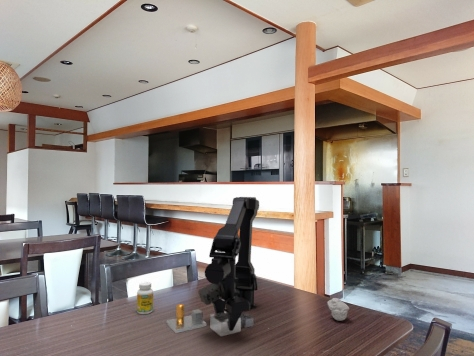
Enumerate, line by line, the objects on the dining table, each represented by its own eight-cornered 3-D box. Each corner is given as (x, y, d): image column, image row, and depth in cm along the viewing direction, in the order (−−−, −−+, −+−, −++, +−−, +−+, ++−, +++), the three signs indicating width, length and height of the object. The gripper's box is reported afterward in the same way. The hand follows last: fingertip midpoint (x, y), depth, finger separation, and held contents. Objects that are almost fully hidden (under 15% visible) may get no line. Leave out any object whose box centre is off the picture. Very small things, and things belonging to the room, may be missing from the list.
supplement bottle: (149, 307, 119) (150, 280, 120) (155, 312, 115) (155, 284, 115) (134, 310, 117) (135, 282, 117) (139, 315, 112) (140, 286, 112)
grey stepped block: (246, 321, 109) (246, 311, 109) (253, 325, 106) (253, 315, 106) (232, 324, 106) (232, 314, 106) (238, 329, 103) (238, 319, 103)
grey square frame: (229, 323, 107) (229, 310, 107) (240, 331, 101) (240, 318, 101) (210, 327, 104) (210, 314, 104) (220, 336, 98) (221, 322, 98)
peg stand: (195, 317, 112) (195, 297, 112) (206, 326, 105) (206, 305, 105) (166, 323, 106) (166, 302, 106) (175, 333, 99) (176, 311, 100)
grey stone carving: (327, 315, 115) (328, 294, 115) (349, 318, 113) (349, 297, 113) (326, 321, 110) (326, 300, 110) (349, 325, 107) (349, 303, 107)
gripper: (189, 270, 107) (188, 320, 106) (217, 286, 91) (216, 345, 90) (220, 266, 112) (219, 313, 112) (251, 281, 96) (250, 335, 96)
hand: (225, 326), depth 103 cm, fingers closed on grey square frame, 7 cm apart
